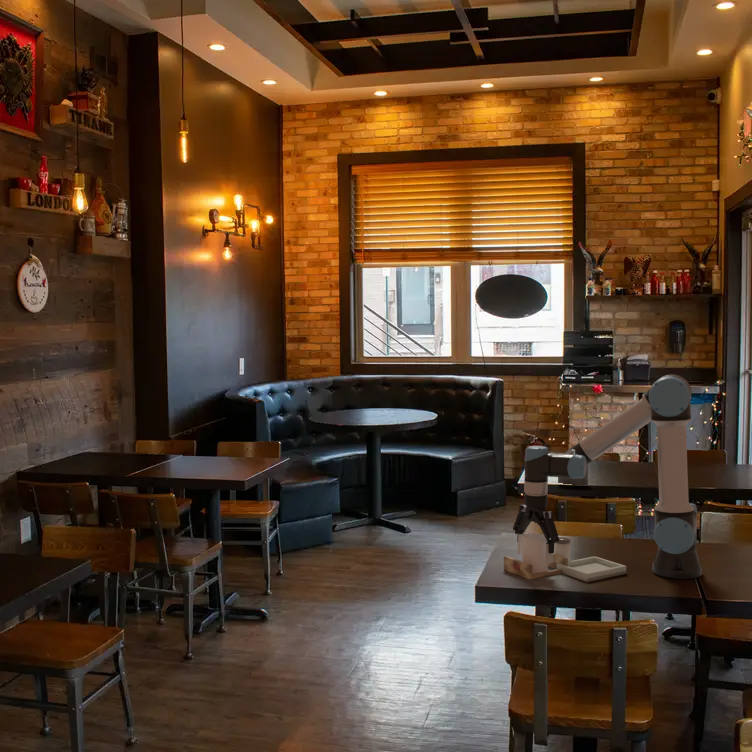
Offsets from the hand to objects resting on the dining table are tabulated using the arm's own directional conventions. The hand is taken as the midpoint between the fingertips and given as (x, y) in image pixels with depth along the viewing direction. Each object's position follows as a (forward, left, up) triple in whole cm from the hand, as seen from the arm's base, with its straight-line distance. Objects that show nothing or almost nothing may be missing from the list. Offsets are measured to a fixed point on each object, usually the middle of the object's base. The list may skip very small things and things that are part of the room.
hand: (535, 557), depth 294 cm
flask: (+103, -112, -5) cm, 152 cm away
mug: (0, 0, -5) cm, 5 cm away
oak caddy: (0, 0, -4) cm, 4 cm away
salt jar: (0, -12, -4) cm, 12 cm away
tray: (-11, -14, -4) cm, 18 cm away
